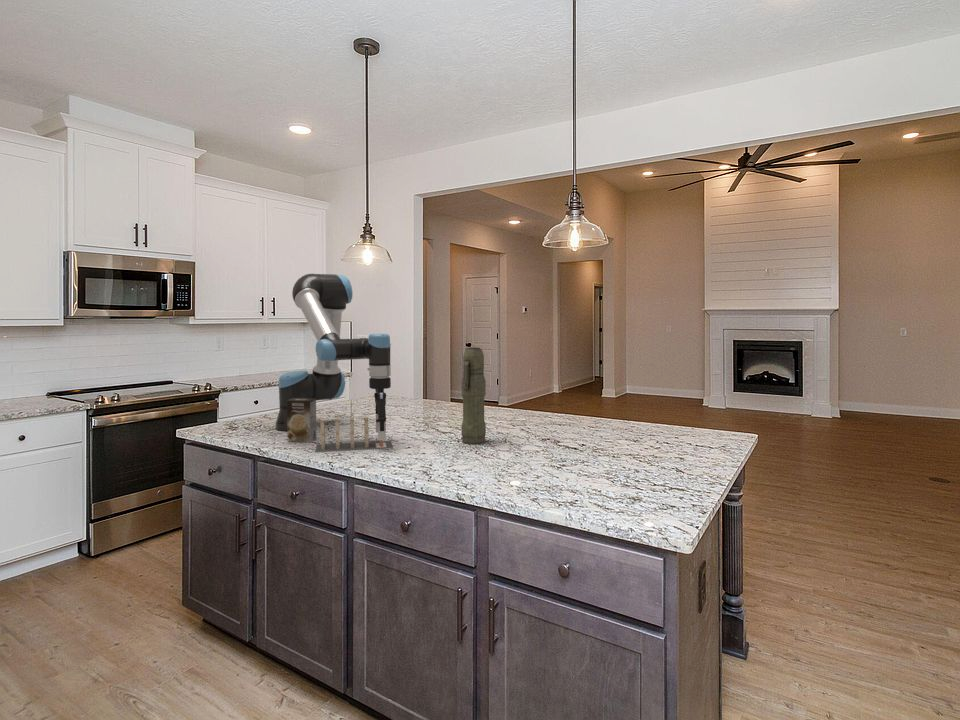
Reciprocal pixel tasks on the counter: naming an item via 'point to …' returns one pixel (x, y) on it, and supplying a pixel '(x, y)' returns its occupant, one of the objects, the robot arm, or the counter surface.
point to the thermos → (473, 397)
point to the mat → (356, 446)
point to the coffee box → (301, 420)
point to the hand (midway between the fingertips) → (380, 436)
